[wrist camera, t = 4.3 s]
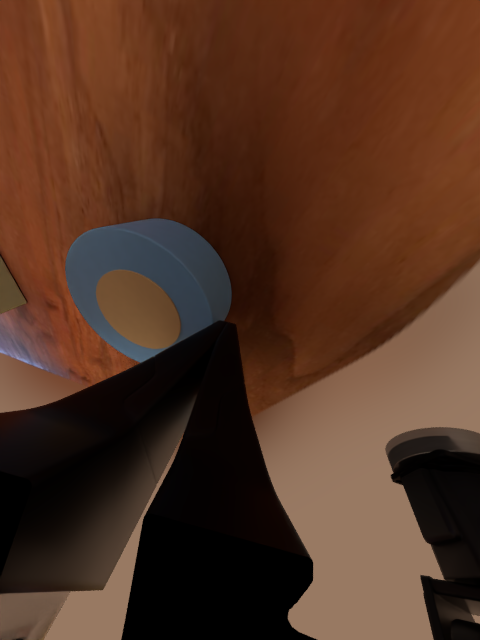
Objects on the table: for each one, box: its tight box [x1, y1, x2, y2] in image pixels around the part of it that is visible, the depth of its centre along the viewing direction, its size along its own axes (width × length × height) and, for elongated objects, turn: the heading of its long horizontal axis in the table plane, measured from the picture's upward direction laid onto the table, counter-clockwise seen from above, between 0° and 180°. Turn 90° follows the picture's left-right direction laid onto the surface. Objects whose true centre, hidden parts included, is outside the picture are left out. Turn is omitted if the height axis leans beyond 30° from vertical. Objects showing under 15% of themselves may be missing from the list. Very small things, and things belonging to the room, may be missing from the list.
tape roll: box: [65, 218, 232, 362], centre depth 10 cm, size 7×7×3 cm
